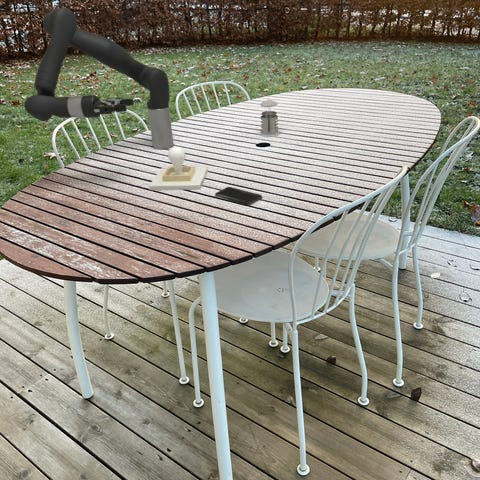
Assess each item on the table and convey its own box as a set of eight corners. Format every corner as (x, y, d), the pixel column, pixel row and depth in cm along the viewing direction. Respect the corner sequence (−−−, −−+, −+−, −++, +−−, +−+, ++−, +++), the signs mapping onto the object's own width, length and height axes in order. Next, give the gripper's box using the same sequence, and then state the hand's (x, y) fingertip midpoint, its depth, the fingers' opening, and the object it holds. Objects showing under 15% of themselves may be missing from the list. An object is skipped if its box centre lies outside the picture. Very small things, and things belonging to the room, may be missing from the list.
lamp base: (161, 172, 181) (160, 163, 180) (207, 171, 179) (207, 162, 178) (149, 190, 165) (148, 180, 164) (200, 189, 164) (199, 179, 162)
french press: (280, 130, 223) (279, 75, 211) (279, 137, 213) (279, 80, 201) (259, 131, 224) (257, 76, 212) (258, 138, 214) (256, 81, 202)
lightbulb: (172, 180, 168) (168, 150, 163) (169, 174, 174) (165, 145, 168) (188, 178, 170) (185, 148, 164) (186, 172, 175) (182, 143, 170)
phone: (248, 203, 149) (213, 193, 157) (248, 207, 149) (213, 196, 158) (263, 195, 154) (228, 186, 163) (263, 198, 155) (229, 189, 163)
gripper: (74, 100, 156) (121, 98, 154) (89, 91, 168) (133, 89, 167) (79, 122, 159) (125, 121, 158) (93, 112, 172) (137, 110, 170)
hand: (129, 104), depth 162 cm, fingers open, 8 cm apart
